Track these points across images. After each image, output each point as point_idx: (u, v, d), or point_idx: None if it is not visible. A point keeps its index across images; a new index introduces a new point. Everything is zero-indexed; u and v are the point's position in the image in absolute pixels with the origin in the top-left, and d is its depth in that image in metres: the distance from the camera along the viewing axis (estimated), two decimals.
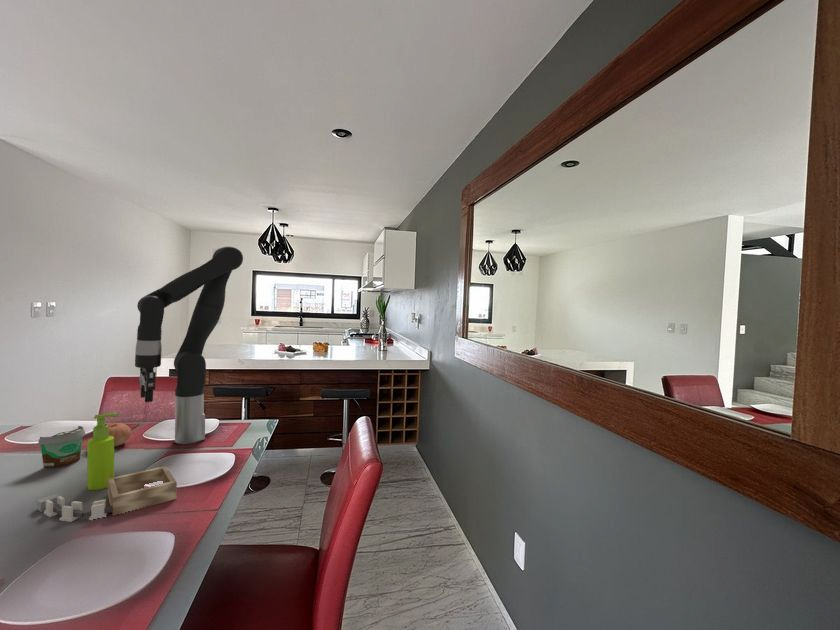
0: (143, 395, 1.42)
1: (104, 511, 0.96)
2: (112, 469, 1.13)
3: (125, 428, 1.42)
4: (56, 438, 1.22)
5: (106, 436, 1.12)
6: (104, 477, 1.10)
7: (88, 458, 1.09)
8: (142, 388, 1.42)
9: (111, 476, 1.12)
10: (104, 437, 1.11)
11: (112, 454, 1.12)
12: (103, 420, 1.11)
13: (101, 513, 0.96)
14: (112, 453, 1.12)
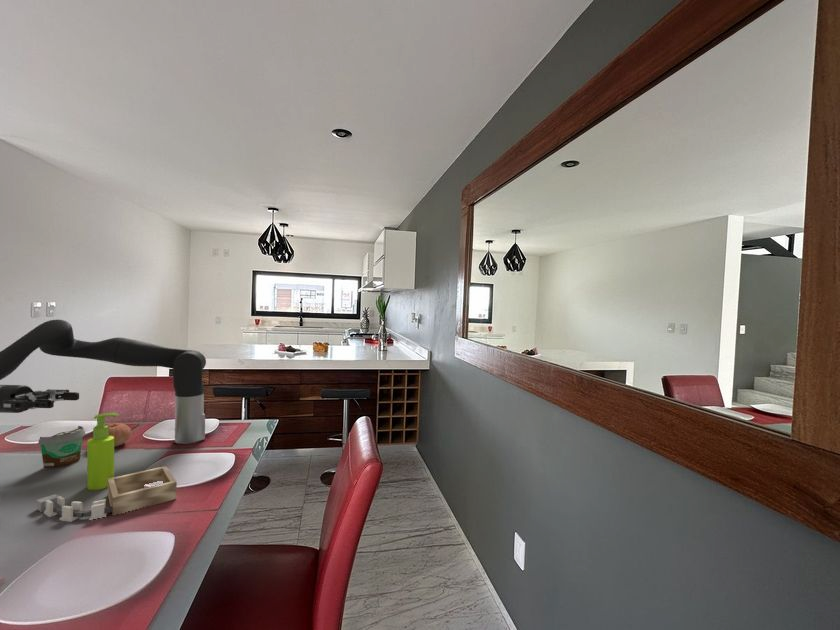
0: None
1: (104, 511, 0.96)
2: (112, 469, 1.13)
3: (125, 428, 1.42)
4: (56, 438, 1.22)
5: (106, 436, 1.12)
6: (104, 477, 1.10)
7: (88, 458, 1.09)
8: None
9: (111, 476, 1.12)
10: (104, 437, 1.11)
11: (112, 454, 1.12)
12: (103, 420, 1.11)
13: (101, 513, 0.96)
14: (112, 453, 1.12)
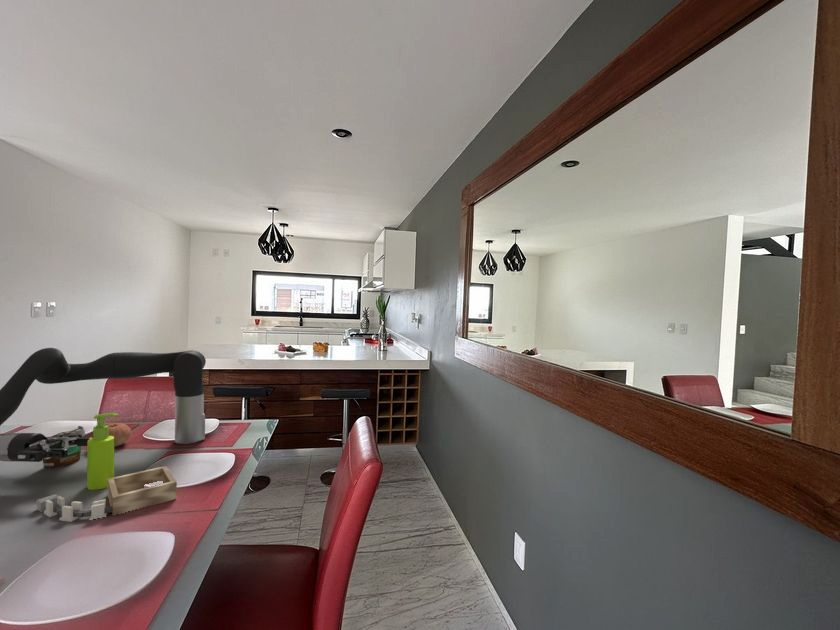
0: None
1: (104, 511, 0.96)
2: (112, 469, 1.13)
3: (125, 428, 1.42)
4: None
5: (106, 436, 1.12)
6: (104, 477, 1.10)
7: (88, 458, 1.09)
8: None
9: (111, 476, 1.12)
10: (104, 437, 1.11)
11: (112, 454, 1.12)
12: (103, 420, 1.11)
13: (101, 513, 0.96)
14: (112, 453, 1.12)
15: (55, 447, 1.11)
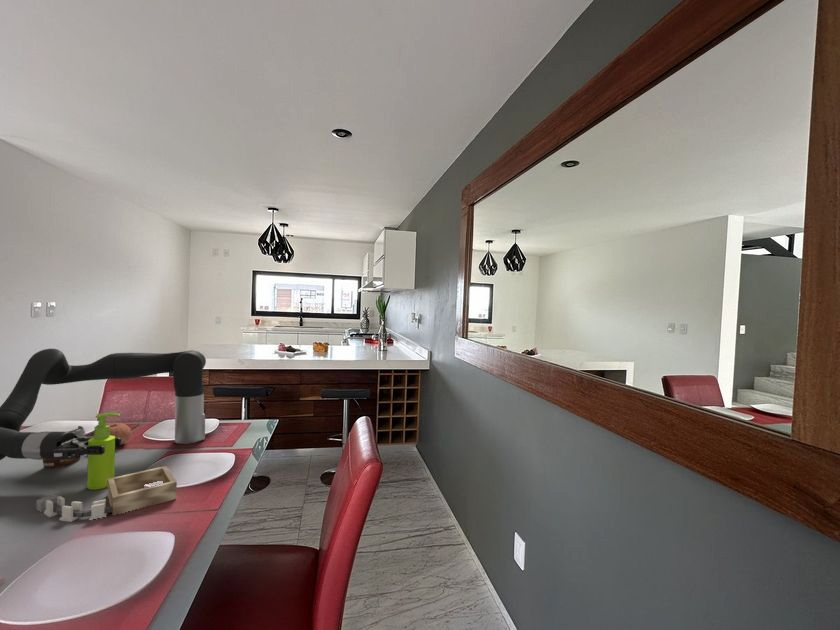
0: None
1: (104, 511, 0.96)
2: (112, 469, 1.13)
3: (125, 428, 1.42)
4: None
5: (107, 436, 1.12)
6: (105, 477, 1.10)
7: (89, 457, 1.10)
8: None
9: (111, 476, 1.12)
10: (105, 436, 1.11)
11: (113, 454, 1.13)
12: (104, 419, 1.12)
13: (101, 513, 0.96)
14: (113, 453, 1.13)
15: None
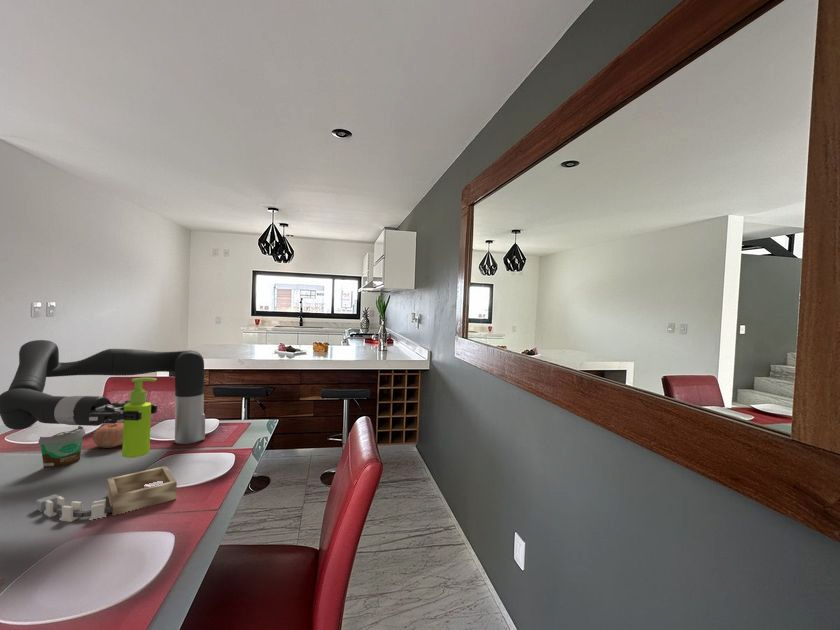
0: None
1: (104, 511, 0.96)
2: (148, 437, 1.06)
3: None
4: (56, 438, 1.22)
5: (143, 401, 1.05)
6: (140, 445, 1.04)
7: (124, 423, 1.03)
8: None
9: (147, 444, 1.05)
10: (141, 402, 1.05)
11: (149, 421, 1.06)
12: (141, 384, 1.05)
13: (101, 513, 0.96)
14: (149, 420, 1.06)
15: None
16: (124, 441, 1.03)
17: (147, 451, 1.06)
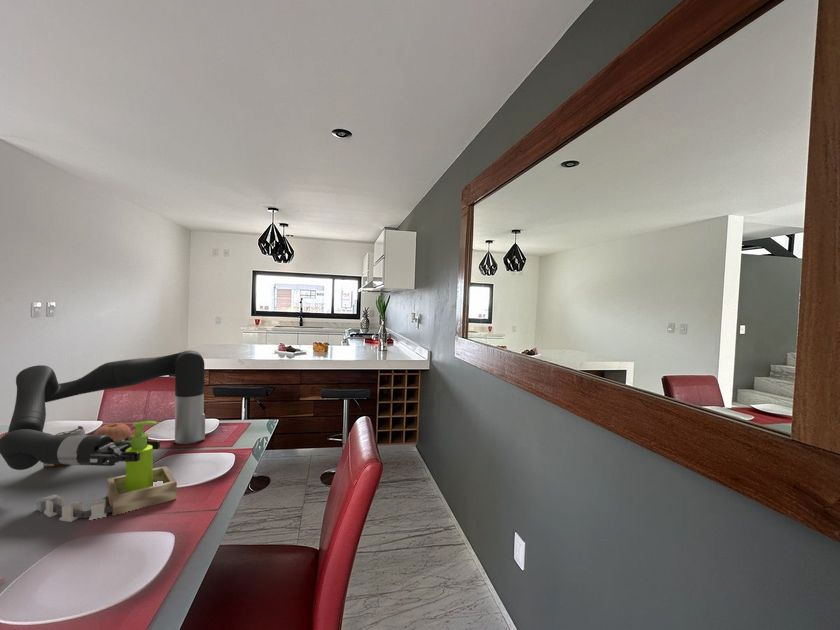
0: None
1: (104, 511, 0.96)
2: (151, 480, 1.06)
3: (125, 428, 1.42)
4: None
5: (145, 445, 1.05)
6: None
7: (127, 469, 1.03)
8: None
9: None
10: (143, 446, 1.05)
11: (151, 464, 1.06)
12: (142, 428, 1.05)
13: (101, 513, 0.96)
14: (151, 463, 1.06)
15: (124, 450, 1.05)
16: (127, 486, 1.03)
17: None
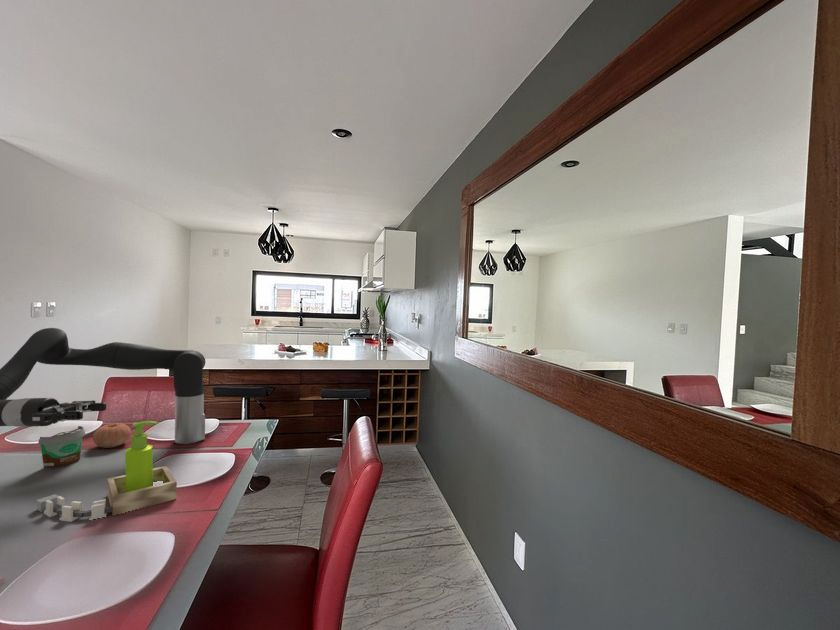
0: None
1: (104, 511, 0.96)
2: (151, 480, 1.06)
3: (125, 428, 1.42)
4: (56, 438, 1.22)
5: (145, 445, 1.05)
6: None
7: (126, 469, 1.03)
8: None
9: None
10: (143, 446, 1.05)
11: (151, 464, 1.06)
12: (141, 428, 1.05)
13: (101, 513, 0.96)
14: (151, 463, 1.06)
15: None
16: (127, 486, 1.03)
17: None
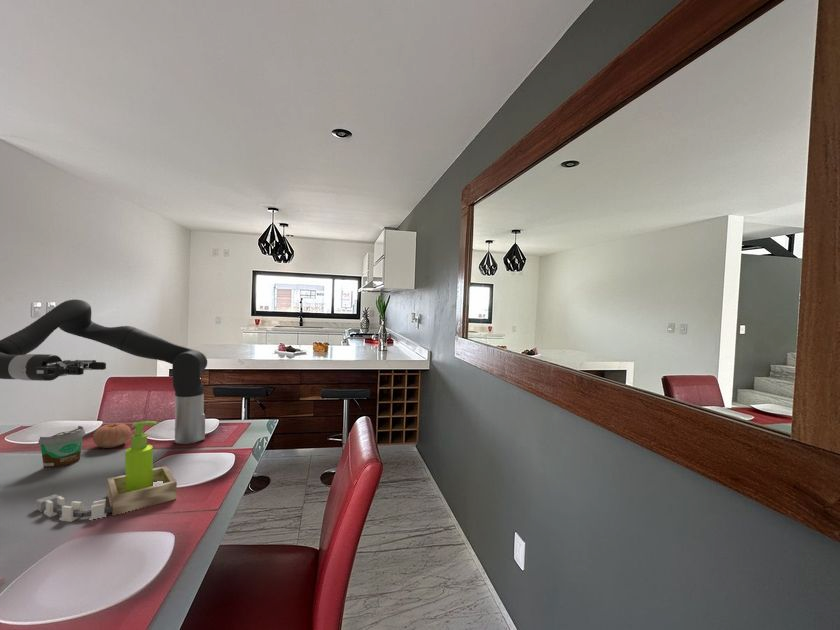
0: None
1: (104, 511, 0.96)
2: (151, 480, 1.06)
3: (125, 428, 1.42)
4: (56, 438, 1.22)
5: (145, 445, 1.05)
6: None
7: (127, 469, 1.03)
8: None
9: None
10: (143, 446, 1.05)
11: (151, 464, 1.06)
12: (141, 428, 1.05)
13: (101, 513, 0.96)
14: (151, 463, 1.06)
15: None
16: (127, 486, 1.03)
17: None
